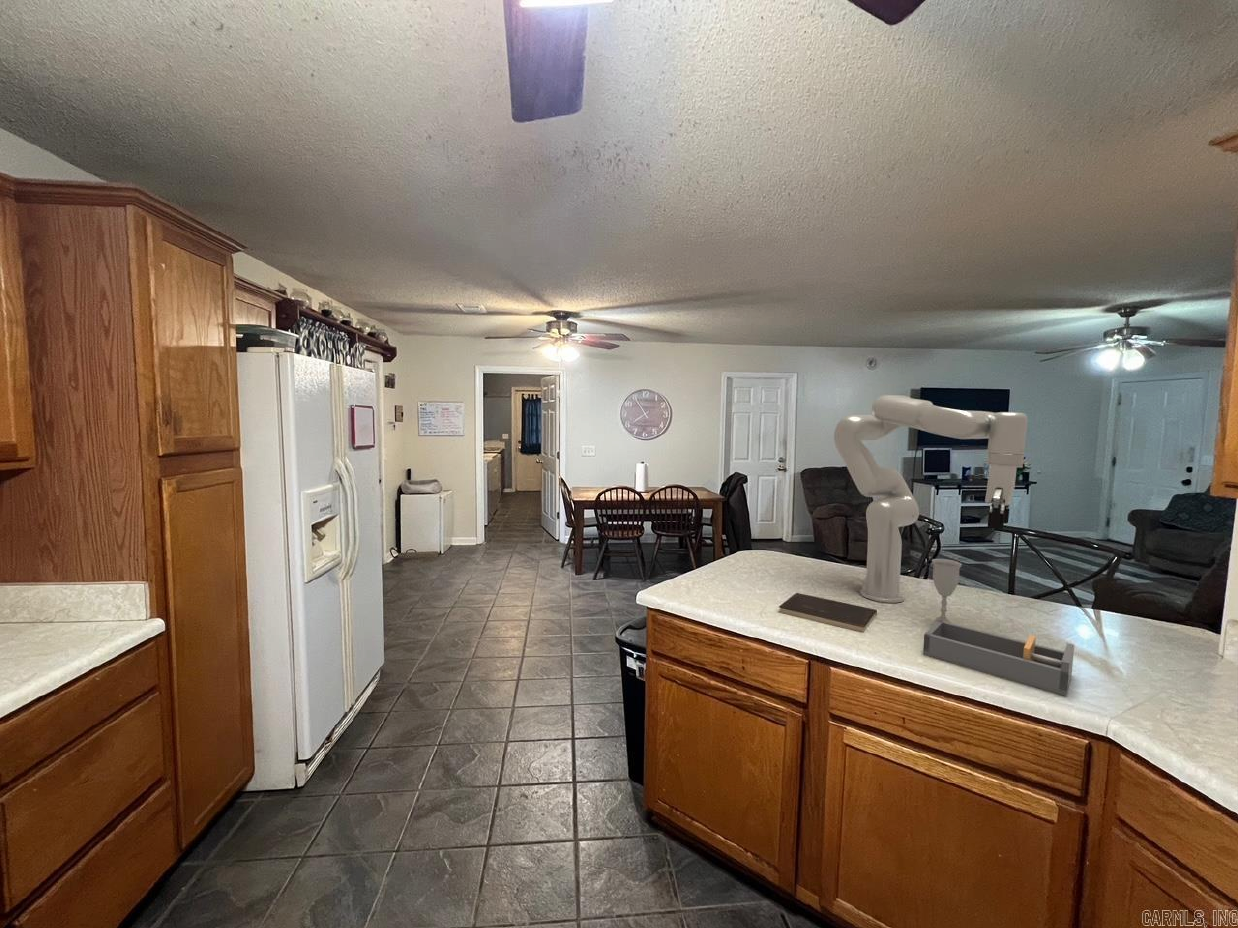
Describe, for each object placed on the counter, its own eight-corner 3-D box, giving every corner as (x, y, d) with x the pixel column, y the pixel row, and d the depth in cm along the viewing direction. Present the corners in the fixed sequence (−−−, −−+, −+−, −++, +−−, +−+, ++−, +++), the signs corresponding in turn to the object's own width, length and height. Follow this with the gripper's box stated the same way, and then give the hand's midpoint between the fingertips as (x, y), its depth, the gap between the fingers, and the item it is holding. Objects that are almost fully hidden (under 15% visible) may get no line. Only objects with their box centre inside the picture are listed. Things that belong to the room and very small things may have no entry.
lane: (922, 654, 122) (924, 625, 122) (936, 638, 131) (938, 612, 130) (1066, 696, 104) (1069, 663, 103) (1071, 675, 113) (1074, 644, 112)
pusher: (1021, 674, 110) (1023, 647, 110) (1027, 660, 117) (1029, 635, 116) (1059, 684, 106) (1061, 657, 105) (1063, 669, 112) (1065, 643, 112)
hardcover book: (863, 634, 135) (864, 626, 134) (778, 613, 149) (778, 606, 148) (876, 616, 147) (877, 609, 147) (796, 599, 161) (797, 592, 161)
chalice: (962, 633, 134) (967, 567, 133) (934, 631, 136) (938, 565, 134) (950, 622, 142) (954, 559, 140) (923, 620, 143) (927, 558, 141)
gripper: (991, 457, 140) (985, 518, 142) (981, 461, 128) (974, 528, 129) (1026, 459, 135) (1019, 522, 137) (1019, 463, 123) (1011, 533, 124)
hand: (997, 525), depth 133 cm, fingers open, 9 cm apart
